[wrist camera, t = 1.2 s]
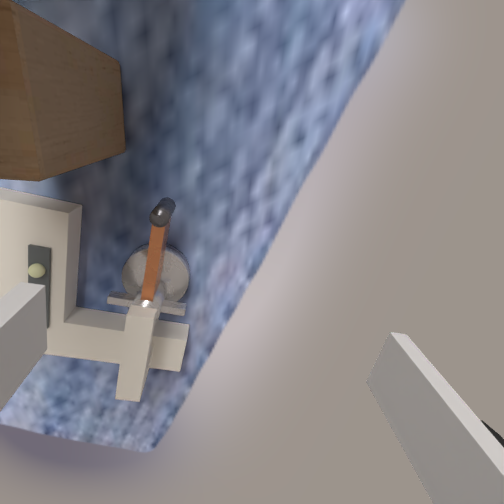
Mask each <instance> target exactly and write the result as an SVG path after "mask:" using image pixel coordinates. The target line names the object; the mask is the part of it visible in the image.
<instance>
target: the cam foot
mask: <svg viewBox="0 0 504 504" xmlns="http://www.w3.org/2000/svg"><path fill="white" fill-rule="evenodd" d="M175 207H176V205H175V202H174V201H173V200H172V199H171V198H168V197H165V198H163V199H161V200H160V202H159V203H158V204H157V206H156V207H155V208H154V210H153V211H152V212H151V214H150V217H149V219H150V222H151V223H152V228H151V234H150V241H149V244H146V245H143V246H141V247H139V248H138V249H136V250H135V251H134V252H133V253H132V254H131V256H130V257H129V259H128V260H127V262H126V263H125V265H124V267H123V270H122V283H123V286H124V288H125V290H126V292H127V293H128V294H126V293H121V292H115V291H111V292H110V294H109V295H108V299H107V304H113V305H119V306H126V307H130V306H131V305H136V306H142V307H148V308H154V309H157V314H156V319H155V324H156V323H157V321H158V318H159V315H160V312H162V313H168V314H174V315H180V316H184V315H185V310H186V305H187V304H185V303H179V302H177V301H178V300H180V299H181V298H182V297H183V295H184V294H185V292H186V290H187V287H188V283H189V278H190V267H189V263H188V261H187V259H186V258H185V256H184V255H183V254H182V253H181V252H180V251H179V250H177V249H176V248H174V247H172V246H170V245H167V238H168V232H169V227H170V221H171V216H172V214H173V212H174V210H175Z"/></svg>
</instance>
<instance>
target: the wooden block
mask: <svg viewBox="0 0 504 504" xmlns="http://www.w3.org/2000/svg"><path fill="white" fill-rule="evenodd" d="M125 150H126V147H125V132H124V117H123V102H122V88H121V73H120V64H119V62H118V61H117V60H115V59H113V58H112V57H110V56H108V55H106V54H105V53H103V52H101V51H99V50H98V49H96V48H94V47H92V46H91V45H89V44H87V43H85V42H84V41H82V40H80V39H78V38H77V37H75V36H73V35H71V34H70V33H68V32H66V31H64V30H63V29H61V28H59V27H57V26H56V25H54V24H52V23H50V22H49V21H47V20H45V19H43V18H42V17H40V16H38V15H36V14H35V13H33V12H31V11H29V10H28V9H26V8H24V7H22V6H21V5H19V4H17V3H15V2H14V1H12V0H0V179H10V180H25V181H41V180H44V179H47V178H50V177H53V176H56V175H59V174H62V173H65V172H68V171H71V170H74V169H77V168H80V167H83V166H86V165H89V164H92V163H94V162H97V161H100V160H103V159H106V158H109V157H112V156H115V155H118V154H121V153H124V152H125Z"/></svg>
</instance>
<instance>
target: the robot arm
mask: <svg viewBox="0 0 504 504" xmlns="http://www.w3.org/2000/svg"><path fill="white" fill-rule="evenodd" d="M46 350H47V322H46V291H45V285H40V284H32V283H25V282H20V283H19V284H18V285H16V286H15V287H14V288H13V289H11V290H10V291H9V292H8V293H7V294H5V295H4V296H3V297H2V298H0V411H1V410H2V409H3V407H4V406H5V405H6V403H7V402H8V401H9V399H10V398H11V397H12V395H13V394H14V393H15V391H16V390H17V389H18V387H19V386H20V385H21V383H22V382H23V381H24V379H25V378H26V377H27V375H28V374H29V373H30V371H31V370H32V369H33V367H34V366H35V365H36V363H37V362H38V361H39V359H40V358H41V357H42V355H43V354H44V353H45V351H46ZM366 383H367V384H368V386H369V388H370V390H371V392H372V393H373V395H374V397H375V399H376V401H377V403H378V404H379V406H380V408H381V410H382V412H383V413H384V415H385V417H386V419H387V421H388V422H389V424H390V426H391V428H392V430H393V432H394V433H395V435H396V437H397V439H398V441H399V442H400V444H401V446H402V447H403V450H404V451H405V453H406V455H407V457H408V459H409V460H410V462H411V464H412V466H413V468H414V470H415V471H416V473H417V475H418V477H419V479H420V480H421V482H422V484H423V486H424V488H425V490H426V491H427V493H428V495H429V497H430V499H431V500H432V502H433V504H504V439H503V438H502V437H501V436H500V435H499V434H498V433H497V432H495V431H494V430H493V429H492V428H490V427H489V426H488V425H487V424H486V423H484V422H483V421H481V420H479V418H478V417H477V416H476V415H475V414H474V413H473V412H472V410H471V409H470V408H469V407H468V406H467V405H466V403H465V402H464V401H463V400H462V399H461V398H460V397H459V395H458V394H457V393H456V392H455V390H454V389H453V388H452V387H451V386H450V385H449V383H448V382H447V381H446V380H445V379H444V378H443V377H442V376H441V374H440V373H439V372H438V371H437V370H436V369H435V367H434V366H433V365H432V364H431V363H430V361H429V360H428V359H427V358H426V357H425V356H424V355H423V353H422V352H421V351H420V350H419V349H418V347H417V346H416V345H415V344H414V343H413V342H412V340H411V339H410V338H409V337H408V336H407V335H406V334H400V333H393V332H390V333H389V335H388V337H387V339H386V341H385V344H384V345H383V348H382V350H381V352H380V354H379V356H378V358H377V360H376V363H375V364H374V367H373V369H372V371H371V373H370V375H369V377H368V379H367V382H366Z"/></svg>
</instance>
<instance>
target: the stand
mask: <svg viewBox="0 0 504 504" xmlns="http://www.w3.org/2000/svg"><path fill="white" fill-rule="evenodd" d="M81 220H82V205H81V204H76V203H71V202H67V201H62V200H57V199H53V198H48V197H44V196H39V195H34V194H30V193H25V192H20V191H16V190H11V189H7V188H2V187H0V298H2V297H3V296H4V295H5V294H7V293H8V292H9V291H10V290H11V289H13V288H14V287H15V286H16V285H18V284H19V283H20V282H25V283H32V284H40V285H45V291H46V322H47V350H46V351H45V353H44V354H48V355H56V356H63V357H71V358H79V359H86V360H94V361H102V362H109V363H117V364H120V367H119V374H118V382H117V389H116V397H115V399H118V400H127V401H136V402H140V398H141V395H142V391H143V388H144V385H145V381H146V378H147V374H148V371H149V368H155V369H163V370H171V371H178V372H180V369H181V364H182V360H183V356H184V351H185V347H186V342H187V337H188V330H189V324H182V323H176V322H170V321H164V320H158V321H157V323H156V324H155V319H156V314H157V309H154V308H148V307H142V306H136V305H131V306H130V308H129V311H128V313H127V315H126V314H120V313H113V312H107V311H101V310H95V309H88V308H82V307H76V299H77V283H78V267H79V252H80V236H81Z"/></svg>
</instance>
